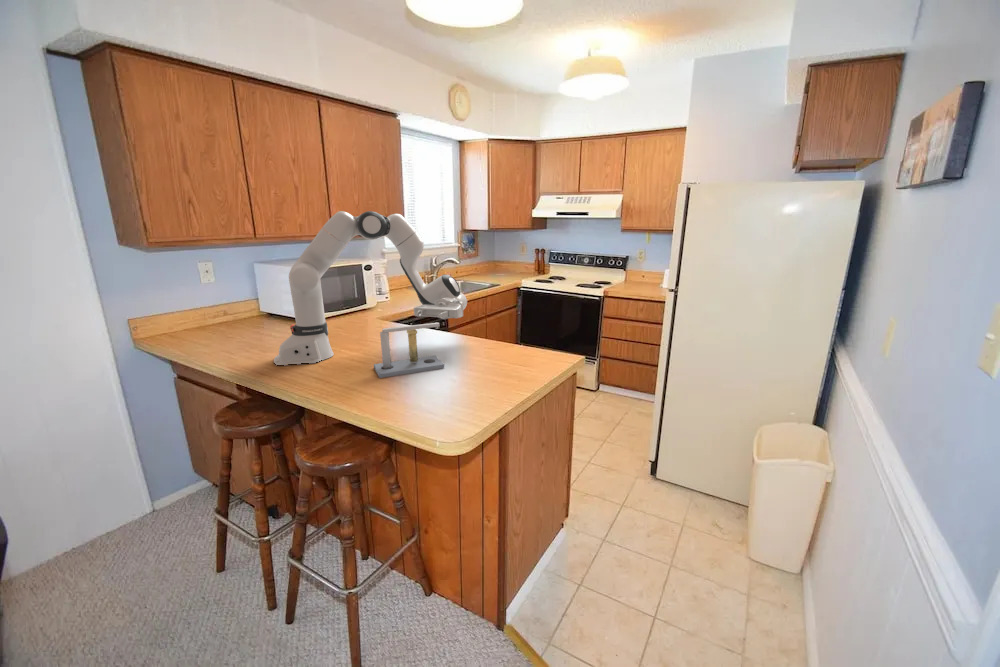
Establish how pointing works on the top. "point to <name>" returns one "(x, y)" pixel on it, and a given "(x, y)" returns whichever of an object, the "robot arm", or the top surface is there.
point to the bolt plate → (404, 365)
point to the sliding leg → (412, 345)
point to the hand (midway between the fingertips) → (428, 315)
